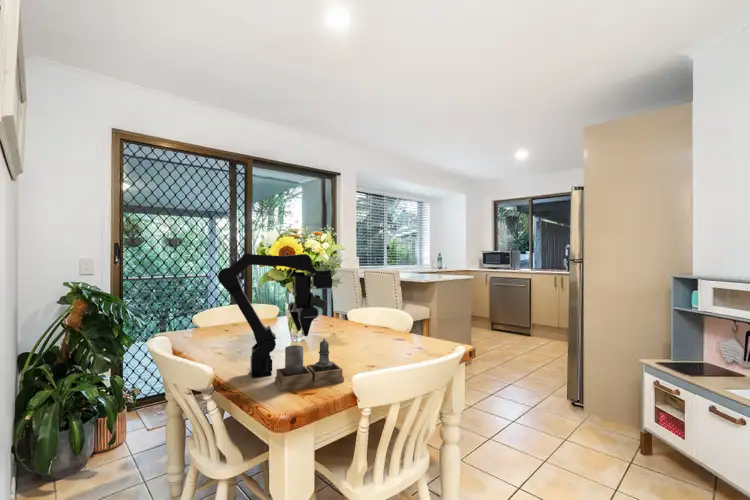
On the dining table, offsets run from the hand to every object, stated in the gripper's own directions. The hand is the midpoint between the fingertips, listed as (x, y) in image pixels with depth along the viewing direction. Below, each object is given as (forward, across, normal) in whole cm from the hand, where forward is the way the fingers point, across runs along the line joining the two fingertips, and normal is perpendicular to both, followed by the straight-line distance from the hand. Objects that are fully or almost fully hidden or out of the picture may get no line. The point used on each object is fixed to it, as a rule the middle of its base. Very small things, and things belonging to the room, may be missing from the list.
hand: (302, 333), depth 133 cm
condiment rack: (+13, -12, +1) cm, 18 cm away
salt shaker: (+12, -12, -4) cm, 17 cm away
